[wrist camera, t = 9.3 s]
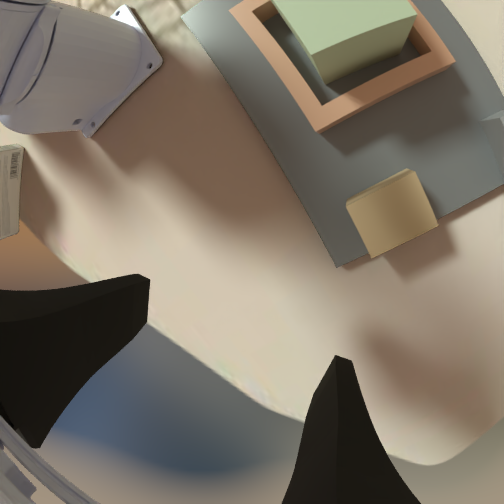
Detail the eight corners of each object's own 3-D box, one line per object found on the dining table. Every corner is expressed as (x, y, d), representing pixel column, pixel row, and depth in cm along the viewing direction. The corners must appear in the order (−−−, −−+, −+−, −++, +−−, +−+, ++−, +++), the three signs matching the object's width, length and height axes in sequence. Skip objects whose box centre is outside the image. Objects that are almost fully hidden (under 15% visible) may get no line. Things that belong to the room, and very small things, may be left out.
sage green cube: (325, 84, 15) (310, 55, 10) (283, 20, 14) (252, -25, 9) (399, 54, 13) (417, 14, 8) (354, -10, 12) (349, -64, 7)
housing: (337, 263, 19) (332, 288, 16) (186, 20, 17) (156, 3, 13) (526, 166, 13) (556, 172, 10) (359, -73, 10) (355, -103, 7)
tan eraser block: (369, 244, 17) (371, 258, 15) (346, 199, 17) (345, 206, 15) (428, 215, 16) (438, 225, 13) (406, 168, 15) (415, 171, 13)
